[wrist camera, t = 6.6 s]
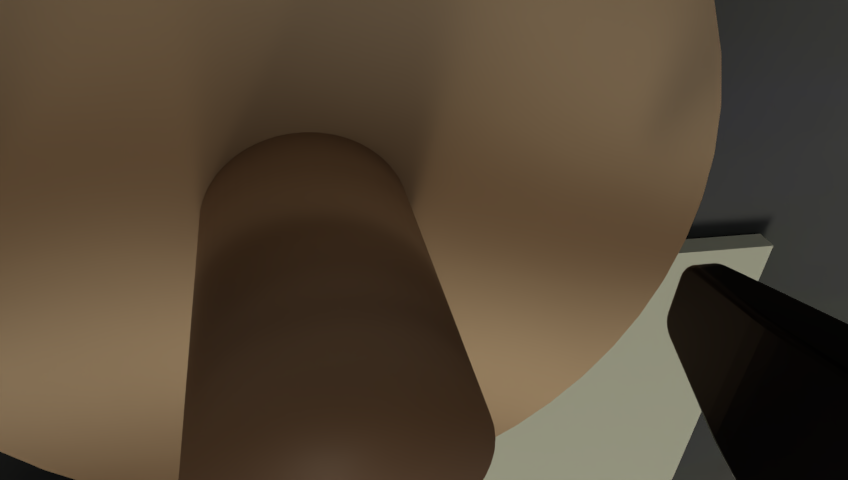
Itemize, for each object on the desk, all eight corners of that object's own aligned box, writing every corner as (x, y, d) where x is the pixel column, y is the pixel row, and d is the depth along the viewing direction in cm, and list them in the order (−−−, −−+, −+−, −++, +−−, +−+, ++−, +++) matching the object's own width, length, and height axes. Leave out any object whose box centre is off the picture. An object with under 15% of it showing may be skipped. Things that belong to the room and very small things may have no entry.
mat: (639, 524, 27) (646, 538, 27) (280, 586, 24) (281, 603, 24) (759, 233, 19) (773, 245, 19) (252, 272, 16) (252, 287, 16)
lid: (592, 406, 15) (728, 658, 11) (-23, 490, 12) (-152, 861, 8) (794, -288, 8) (1370, -327, 4) (-477, -418, 6) (-2495, -897, 1)
